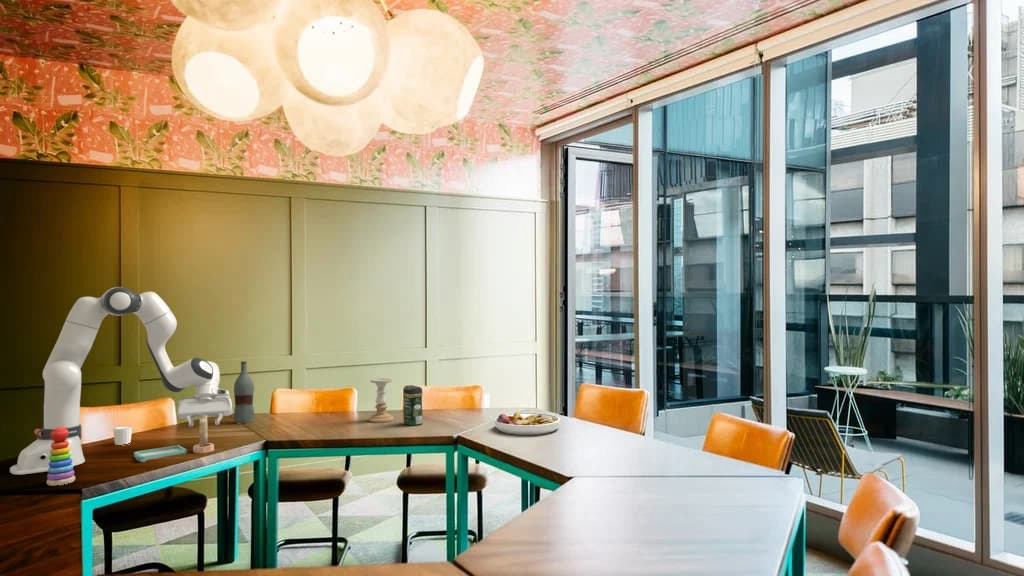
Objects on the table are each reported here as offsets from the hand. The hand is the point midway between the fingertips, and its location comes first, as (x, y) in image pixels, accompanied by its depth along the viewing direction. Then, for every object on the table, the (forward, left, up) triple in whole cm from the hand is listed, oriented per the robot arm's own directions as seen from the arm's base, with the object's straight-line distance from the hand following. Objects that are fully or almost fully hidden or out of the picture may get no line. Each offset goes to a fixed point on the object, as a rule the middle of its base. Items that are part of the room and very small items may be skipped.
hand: (204, 424), depth 256 cm
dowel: (-1, -2, -10) cm, 10 cm away
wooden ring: (-1, -2, -11) cm, 11 cm away
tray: (-15, +4, -11) cm, 19 cm away
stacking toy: (-49, -12, -11) cm, 51 cm away
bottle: (+33, +49, -11) cm, 60 cm away
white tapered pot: (-21, +39, -11) cm, 46 cm away
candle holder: (+84, +5, -11) cm, 85 cm away
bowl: (+121, -61, -11) cm, 136 cm away
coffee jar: (+90, -14, -11) cm, 92 cm away
